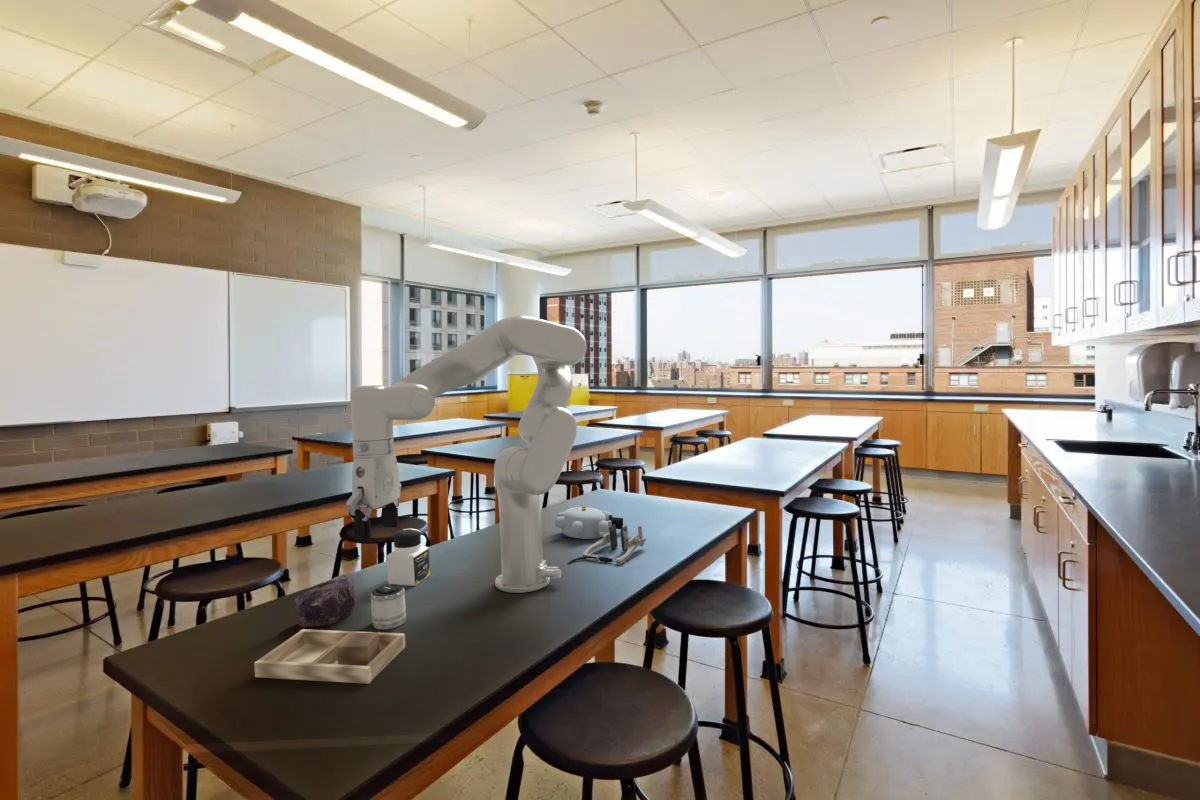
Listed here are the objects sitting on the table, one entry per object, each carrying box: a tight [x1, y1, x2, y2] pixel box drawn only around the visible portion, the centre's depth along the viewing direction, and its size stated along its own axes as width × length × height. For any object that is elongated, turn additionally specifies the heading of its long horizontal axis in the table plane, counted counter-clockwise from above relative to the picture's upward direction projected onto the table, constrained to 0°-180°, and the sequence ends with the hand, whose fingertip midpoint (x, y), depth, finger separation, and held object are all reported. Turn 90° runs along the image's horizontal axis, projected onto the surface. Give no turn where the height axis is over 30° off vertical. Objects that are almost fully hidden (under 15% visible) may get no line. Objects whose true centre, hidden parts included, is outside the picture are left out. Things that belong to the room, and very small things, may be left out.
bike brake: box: [566, 520, 647, 566], centre depth 151 cm, size 14×7×20 cm
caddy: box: [253, 628, 406, 685], centre depth 99 cm, size 20×12×3 cm, turn 81°
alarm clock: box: [554, 505, 624, 540], centre depth 171 cm, size 17×8×20 cm
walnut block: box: [337, 631, 380, 666], centre depth 98 cm, size 5×5×4 cm
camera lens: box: [370, 583, 407, 630], centre depth 113 cm, size 6×6×8 cm
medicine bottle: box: [386, 528, 431, 587], centre depth 138 cm, size 7×7×12 cm
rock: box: [294, 572, 357, 629], centre depth 116 cm, size 12×9×10 cm
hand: (377, 533), depth 115 cm, fingers open, 9 cm apart
